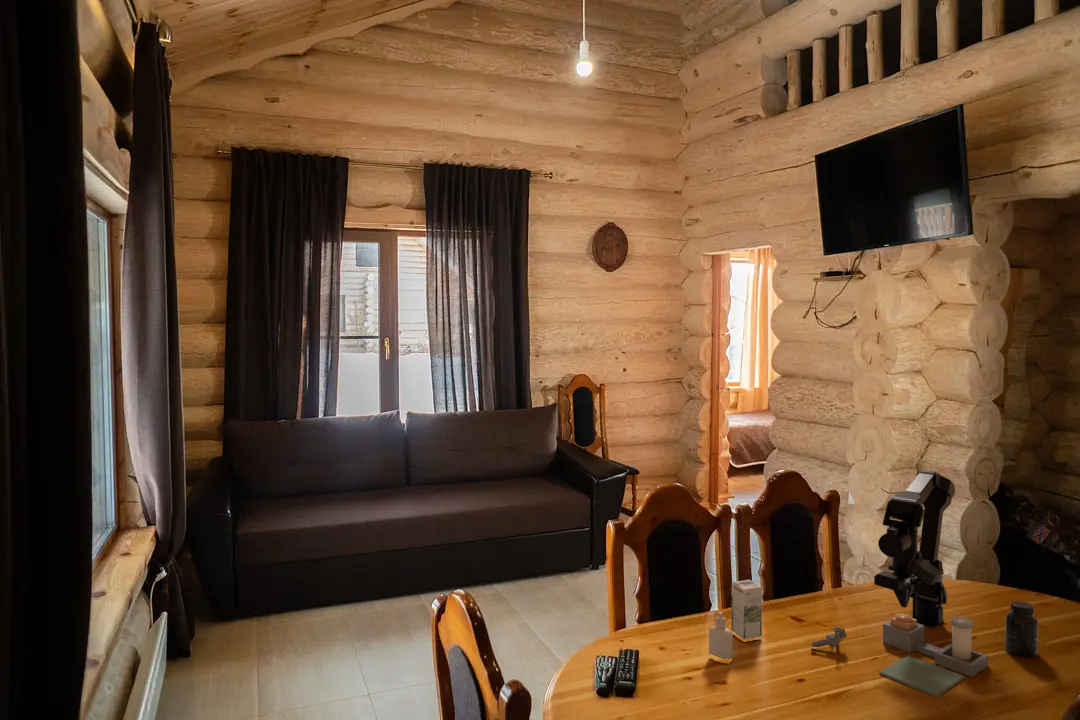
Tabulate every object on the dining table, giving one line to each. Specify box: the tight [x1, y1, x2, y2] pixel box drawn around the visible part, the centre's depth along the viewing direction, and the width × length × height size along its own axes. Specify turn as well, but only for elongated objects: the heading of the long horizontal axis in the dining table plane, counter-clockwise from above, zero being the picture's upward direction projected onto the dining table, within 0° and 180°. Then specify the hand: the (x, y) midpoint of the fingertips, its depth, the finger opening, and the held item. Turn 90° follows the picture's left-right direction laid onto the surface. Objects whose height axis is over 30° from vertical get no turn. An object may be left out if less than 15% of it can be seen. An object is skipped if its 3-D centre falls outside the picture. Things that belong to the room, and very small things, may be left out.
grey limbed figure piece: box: [810, 625, 847, 652], centre depth 183 cm, size 10×6×9 cm
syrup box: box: [730, 579, 763, 639], centre depth 191 cm, size 6×6×14 cm
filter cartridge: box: [950, 616, 974, 663], centre depth 175 cm, size 5×5×11 cm
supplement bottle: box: [1004, 600, 1039, 658], centre depth 180 cm, size 7×7×12 cm
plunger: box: [890, 612, 917, 631], centre depth 186 cm, size 4×4×6 cm
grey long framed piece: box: [882, 619, 989, 677], centre depth 180 cm, size 22×8×5 cm, turn 36°
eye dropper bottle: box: [708, 611, 734, 660], centre depth 179 cm, size 4×6×12 cm
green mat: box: [879, 655, 965, 698], centre depth 170 cm, size 13×13×1 cm
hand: (904, 606), depth 186 cm, fingers closed
